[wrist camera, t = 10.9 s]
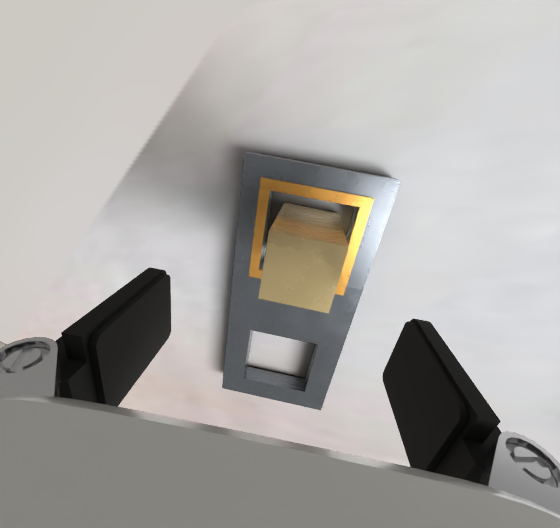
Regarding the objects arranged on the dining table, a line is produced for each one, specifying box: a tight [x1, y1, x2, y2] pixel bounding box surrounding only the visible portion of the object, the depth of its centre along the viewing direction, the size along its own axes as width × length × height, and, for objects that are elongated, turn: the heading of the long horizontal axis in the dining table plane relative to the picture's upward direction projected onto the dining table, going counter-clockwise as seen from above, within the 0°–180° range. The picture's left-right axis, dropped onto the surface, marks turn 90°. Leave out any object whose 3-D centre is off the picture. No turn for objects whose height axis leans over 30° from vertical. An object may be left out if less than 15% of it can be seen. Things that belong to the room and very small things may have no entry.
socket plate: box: [222, 152, 401, 410], centre depth 22 cm, size 22×10×2 cm, turn 171°
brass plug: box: [258, 203, 349, 313], centre depth 17 cm, size 4×4×7 cm
